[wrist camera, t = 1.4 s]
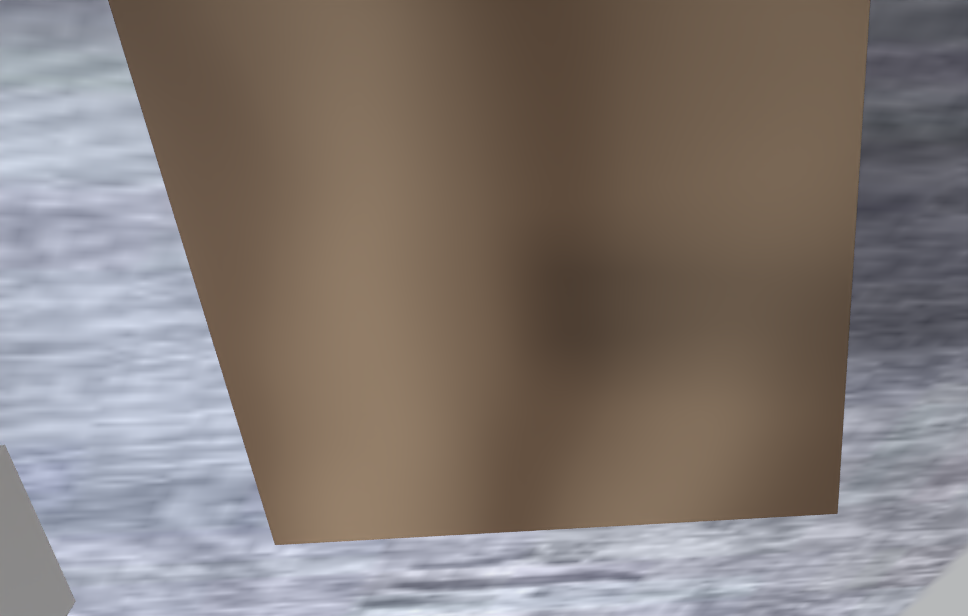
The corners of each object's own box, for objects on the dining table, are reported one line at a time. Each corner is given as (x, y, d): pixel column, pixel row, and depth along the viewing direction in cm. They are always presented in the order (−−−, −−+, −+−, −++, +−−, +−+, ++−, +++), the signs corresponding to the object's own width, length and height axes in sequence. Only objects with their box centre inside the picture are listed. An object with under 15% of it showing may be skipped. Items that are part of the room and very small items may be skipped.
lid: (292, 500, 22) (275, 545, 20) (137, -36, 16) (101, -23, 15) (818, 468, 20) (837, 513, 19) (848, -131, 15) (878, -126, 13)
